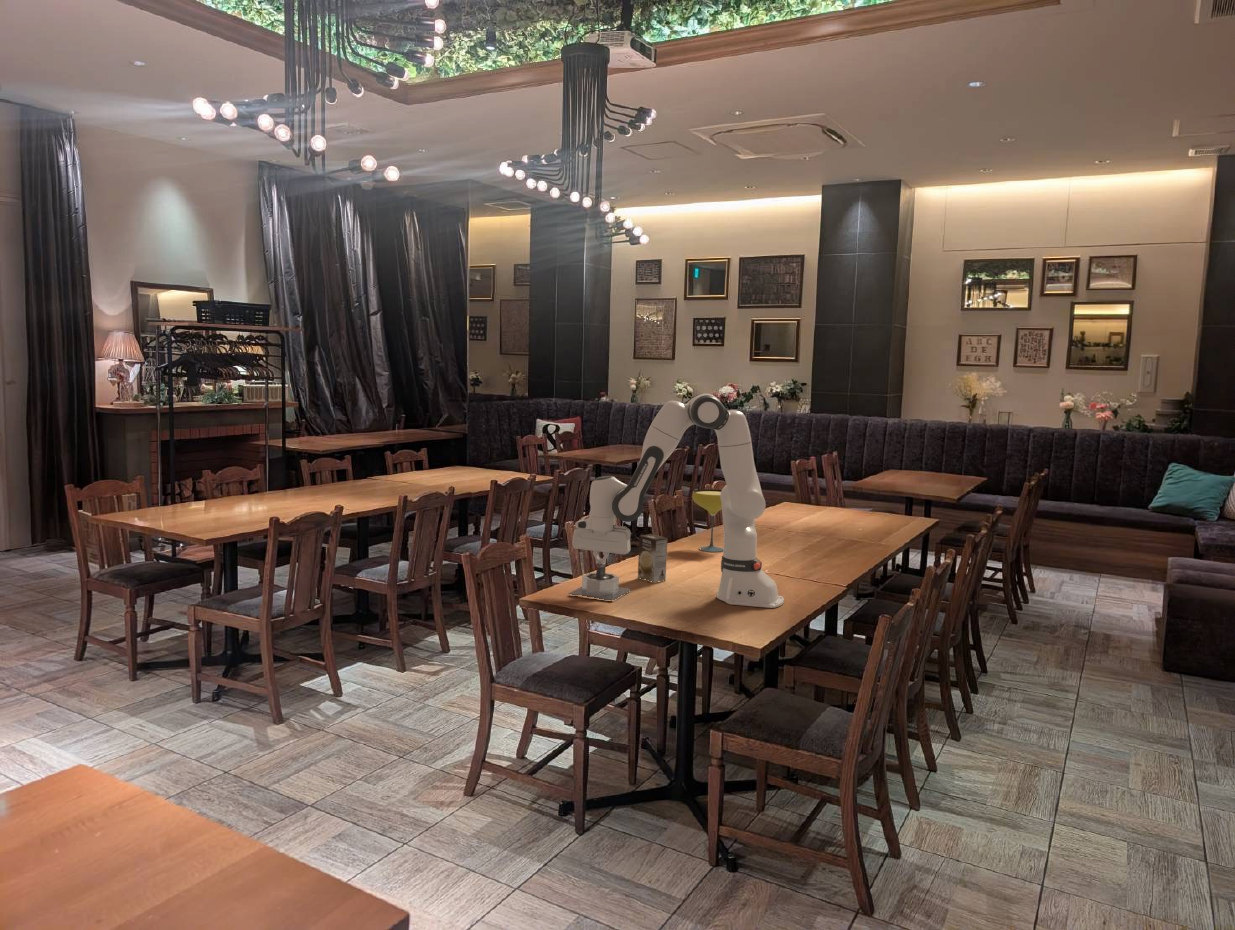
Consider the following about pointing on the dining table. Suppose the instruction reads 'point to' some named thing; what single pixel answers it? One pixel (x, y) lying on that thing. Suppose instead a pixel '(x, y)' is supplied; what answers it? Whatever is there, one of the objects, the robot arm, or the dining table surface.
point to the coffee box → (652, 557)
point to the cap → (600, 573)
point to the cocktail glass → (709, 509)
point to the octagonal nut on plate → (600, 587)
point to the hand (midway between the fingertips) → (600, 564)
